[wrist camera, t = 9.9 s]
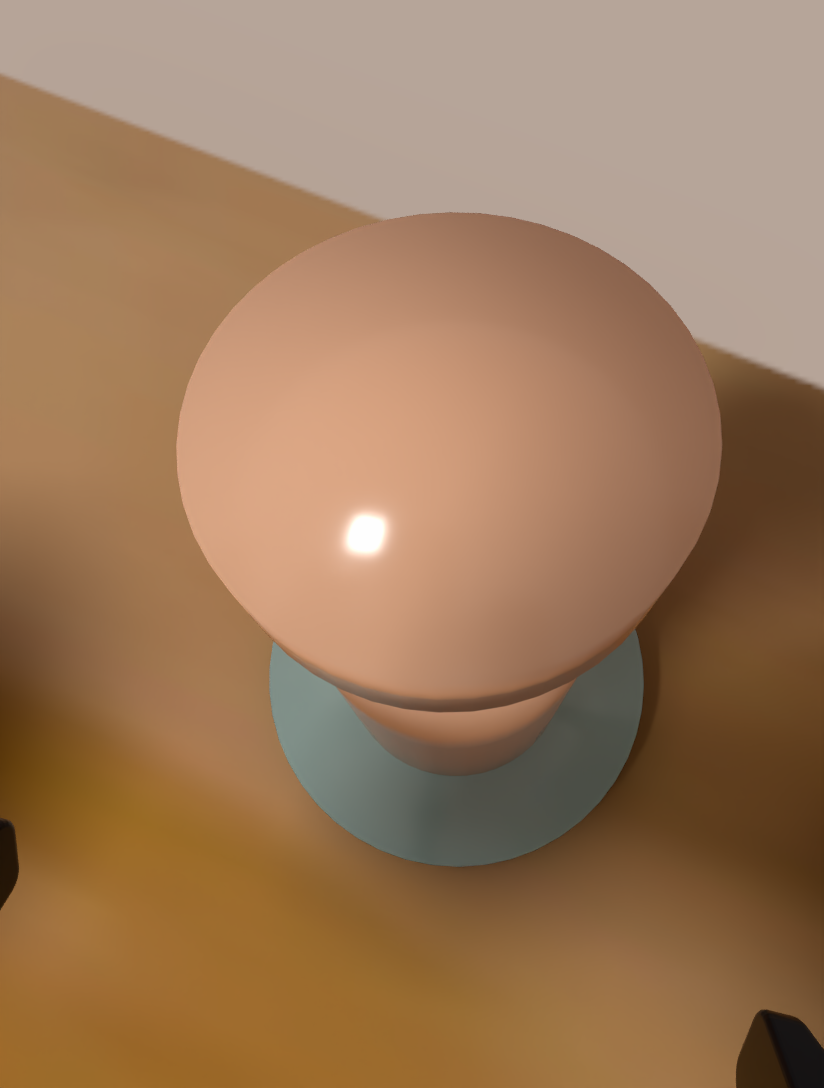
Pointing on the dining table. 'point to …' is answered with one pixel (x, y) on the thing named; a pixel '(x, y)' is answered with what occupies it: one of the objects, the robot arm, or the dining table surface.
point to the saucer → (460, 801)
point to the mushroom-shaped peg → (450, 471)
